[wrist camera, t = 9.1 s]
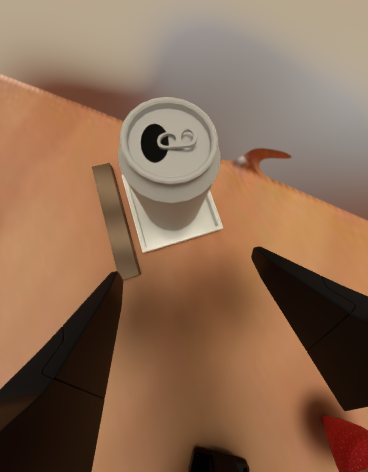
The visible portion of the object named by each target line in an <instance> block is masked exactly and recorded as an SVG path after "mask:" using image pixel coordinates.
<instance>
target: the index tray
mask: <svg viewBox="0 0 368 472" xmlns="http://www.w3.org/2000/svg"><path fill="white" fill-rule="evenodd" d="M122 179H123V182H124V186H125V190H126V193H127V197H128V201H129V204H130V208H131V212H132V215H133V219H134V223H135V226H136V230H137V234H138V237H139V241H140V245H141V248H142V252H143V253H148V252H151V251H154V250H157V249H161V248H164V247H167V246H170V245H174V244H177V243H180V242H184V241H187V240H190V239H193V238H197V237H200V236H203V235H206V234H210V233H213V232H216V231H220V230H221V229H223V226H222V223H221V220H220V218H219V215H218V212H217V209H216V206H215V204H214V201H213V198H212V195H211V193H210V190H209V192H208V194H207V196H206V198H205V200H204V202H203V204H202V206H201V208H200V210H199V212H198V214H197V216H196V218H195V219H194V220H193V221H192V222H191V223H190V225H188V226H186V227H184V228H182V229H178V230H166V229H162V228H160V227H158V226H156V225H155V224H154V223H153V222H152V221H151V220H150V219H149V217H148V216H147V214H146V212H145V211H144V209H143V207H142V206H141V204H140V203H139V201H138V199H137V198H136V196H135V194H134V193H133V191H132V189H131V188H130V186H129V184H128V183H127V181H126V179H125V177H124V175H122Z"/></svg>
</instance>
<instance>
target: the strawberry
mask: <svg viewBox="0 0 368 472" xmlns="http://www.w3.org/2000/svg"><path fill="white" fill-rule="evenodd" d="M322 423H323V426H324V428H325V432H326V436H327V440H328V443H329V446H330V449H331V451H332V454H333V457H334V460H335V462H336V465H337V468H338V470H339V472H359V471H362V470H366V469H368V430H366V429H365V428H363V427H361V426H359V425H356V424H353V423H351V422H348V421H345V420H343V419H339V418H333V417H330V416H326V415H325V416H323V417H322Z"/></svg>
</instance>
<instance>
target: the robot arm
mask: <svg viewBox="0 0 368 472" xmlns="http://www.w3.org/2000/svg"><path fill="white" fill-rule="evenodd" d="M251 258H252V261H253V263H254V265H255V267H256V269H257V271H258V273H259V275H260V277H261V279H262V281H263V282H264V284H265V286H266V287H267V289H268V290H269V292H270V293H271V295H272V297H273V298H274V300H275V301H276V303H277V305H278V306H279V308H280V309H281V311H282V313H283V314H284V316H285V317H286V319H287V321H288V322H289V324H290V325H291V327H292V329H293V330H294V332H295V333H296V335H297V337H298V338H299V340H300V341H301V343H302V345H303V346H304V348H305V349H306V351H307V353H308V354H309V356H310V358H311V359H312V361H313V362H314V364H315V366H316V367H317V369H318V370H319V372H320V373H321V375H322V377H323V378H324V380H325V381H326V383H327V385H328V386H329V388H330V389H331V391H332V393H333V394H334V396H335V397H336V399H337V401H338V402H339V404H340V405H341V407H342V408H343V410H344V411H349V410H354V409H359V408H364V407H368V296H366V295H363V294H361V293H359V292H356V291H354V290H352V289H349V288H347V287H345V286H342V285H340V284H338V283H336V282H334V281H331V280H329V279H327V278H325V277H323V276H320V275H319V274H317V273H315V272H313V271H310V270H308V269H306V268H304V267H302V266H300V265H298V264H296V263H294V262H292V261H290V260H287V259H285V258H283V257H281V256H279V255H277V254H275V253H273V252H271V251H269V250H267V249H265V248H262V247H254V248H253V252H252V256H251ZM122 293H123V279H122V277H121V275H120V273H119V272H118V271H115V272H111V273H110V274H109V275H108V276H107V277H106V278H105V280H104V281H103V282H102V283H101V284H100V285H99V286H98V287H97V288H96V289H95V291H94V292H93V293H92V294H91V295H90V296H89V297H88V298H87V299H86V301H85V302H84V303H83V304H82V305H81V306H80V307H79V308H78V309H77V310H76V312H75V313H74V314H73V315H72V316H71V317H70V318H69V319H68V320H67V322H66V323H65V324H64V325H63V327H61V328H60V329H59V330H58V331H57V332H56V334H55V335H54V336H53V337H52V338H51V339H50V340H49V341H48V342H47V343H46V344H45V345H44V346H43V347H42V348H41V349H40V350H39V351H38V352H37V353H36V355H35V356H34V357H33V358H32V359H31V360H30V361H29V362H27V363H26V364H25V365H24V366H23V367H22V368H21V369H20V370H19V371H18V372H17V373H16V374H15V375H14V376H13V377H12V378H11V379H10V380H9V381H8V382H7V383H6V384H5V385H4V386H3V387H2V388H1V389H0V472H91V471H92V466H93V460H94V455H95V449H96V444H97V439H98V433H99V428H100V422H101V417H102V411H103V406H104V400H105V399H104V398H105V394H106V389H107V383H108V378H109V372H110V367H111V361H112V356H113V350H114V345H115V340H116V334H117V329H118V323H119V318H120V312H121V306H122ZM244 467H245V468H244ZM189 472H249V466H248V463H247V462H246V461H245V460H243V459H239V458H236V457H232V456H228V455H225V454H221V453H217V452H214V451H210V450H206V449H203V448H199V447H196V448H195V449H194V450H193V454H192V458H191V463H190V467H189ZM359 472H368V469H366V470H362V471H359Z"/></svg>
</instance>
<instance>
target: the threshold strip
mask: <svg viewBox="0 0 368 472" xmlns="http://www.w3.org/2000/svg"><path fill="white" fill-rule="evenodd" d="M92 169H93V174H94V178H95V182H96V186H97V190H98V194H99V198H100V202H101V206H102V210H103V215H104V219H105V223H106V227H107V231H108V235H109V239H110V243H111V247H112V252H113V256H114V260H115V264H116V268H117V271H118V272H119V273H120V275H121V277H122V279H123V280H125V279H128V278H131V277H134V276H137V275H140V274H141V272H140V268H139V264H138V261H137V257H136V253H135V249H134V246H133V242H132V238H131V234H130V231H129V227H128V223H127V219H126V215H125V212H124V208H123V204H122V200H121V197H120V193H119V189H118V185H117V182H116V178H115V174H114V170H113V168H112V166H111V165H110V163H107V164H103V165H98V166H94V167H92Z"/></svg>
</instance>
